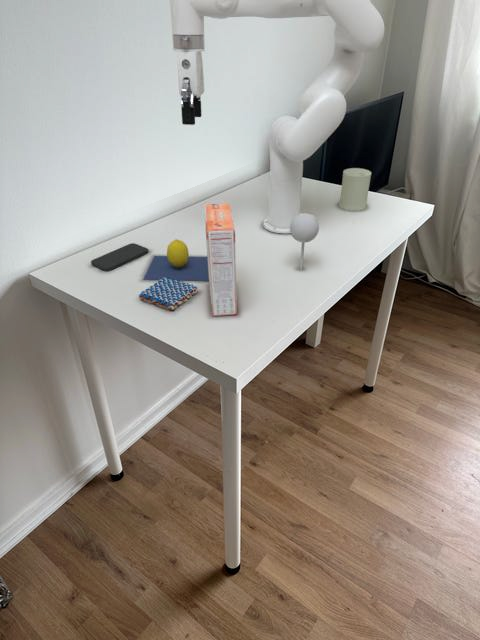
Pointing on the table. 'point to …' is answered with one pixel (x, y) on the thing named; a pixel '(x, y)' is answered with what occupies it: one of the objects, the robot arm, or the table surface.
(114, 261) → the phone
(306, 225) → the lollipop
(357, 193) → the can
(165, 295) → the woven mat
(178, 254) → the lemon
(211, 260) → the cracker box
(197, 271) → the cloth
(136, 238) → the table surface
